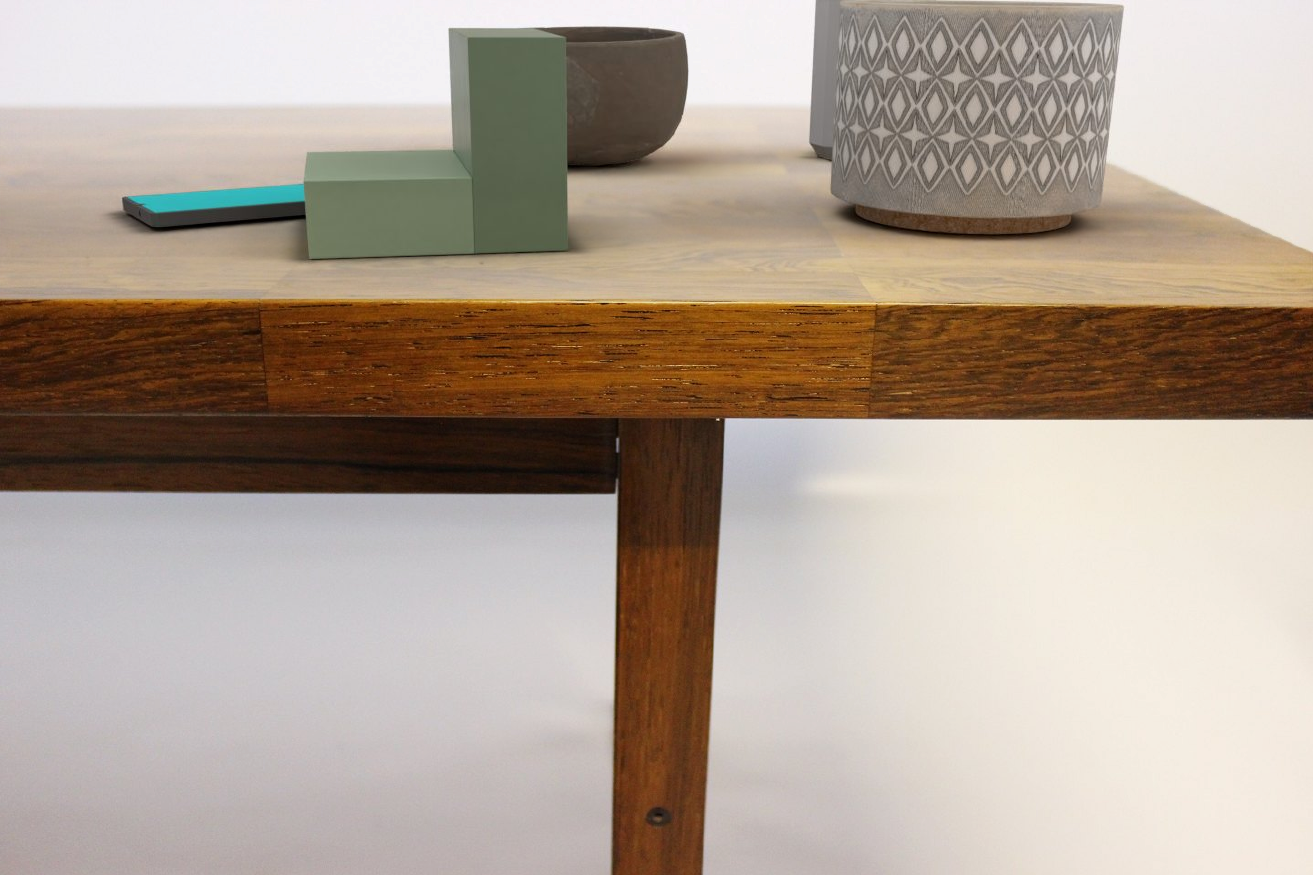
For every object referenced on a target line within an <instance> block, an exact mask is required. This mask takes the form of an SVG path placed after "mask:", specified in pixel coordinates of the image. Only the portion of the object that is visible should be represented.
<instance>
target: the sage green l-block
mask: <svg viewBox="0 0 1313 875" xmlns="http://www.w3.org/2000/svg"><path fill="white" fill-rule="evenodd" d="M533 28H534V27H448V30H447V31H448V56H449V80H450V81H449V82H450V107H451V108H450V109H451V110H450V111H451V134H452V135H451V136H452V138H451V139H452V149H417V150H416V149H415V150H413V149H412V150H409V149H408V150H406V149H405V150H354V151H353V150H350V151H347V150H346V151H344V150H343V151H307V152H306V158H305V165H304V166H305V167H304V174H303V181H302V182H303V183H302V184H304V197H305V210H306V215H305V222H306V224H305V225H306V236H307V238H306V239H307V249H308V259H309V260H323V259H324V260H325V259H351V258H353V259H354V258H358V259H359V258H381V257H382V258H383V257H385V258H386V257H414V256H444V255H445V256H446V255H447V256H449V255H475V254H476V255H477V254H505V253H532V252H533V253H535V252H537V253H538V252H539V253H541V252H566V251H568V250H569V218H568V217H569V211H568V210H569V209H568V208H569V207H568V206H569V205H568V204H569V202H568V201H569V199H568V198H569V197H568V165H567V99H566V37H563V36H559V35H555V34H552V33H548V32H544V31H541V30H537V29H533Z"/></svg>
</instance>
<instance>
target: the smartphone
mask: <svg viewBox="0 0 1313 875" xmlns="http://www.w3.org/2000/svg"><path fill="white" fill-rule="evenodd" d="M121 199H122V210H123V211H124V212H126V213H128V214H129V215H130V216H133V217H134V218H136V219H138V220H139V221H141V222H143V223H144V224H147V225H149V226H150V227H152V228H153V227H154V228H165V227H166V228H167V227H178V226H189V225H191V226H192V225H198V224H199V225H200V224H210V223H211V224H212V223H222V222H235V221H247V220H257V219H268V218H281V217H283V218H284V217H292V216H306V210H305V197H304V183H297V184H284V185H283V184H282V185H270V186H269V185H267V186H254V187H241V188H227V189H215V190H213V189H212V190H199V191H186V192H185V191H184V192H171V193H158V194H145V195H131V196H130V195H129V196H123V197H121Z"/></svg>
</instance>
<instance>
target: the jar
mask: <svg viewBox="0 0 1313 875" xmlns="http://www.w3.org/2000/svg"><path fill="white" fill-rule="evenodd" d="M841 1H846V0H815V5H814V7H815V8H814V28H813V29H814V31H813V49H812V50H813V51H812V52H813V53H812V71H811V72H812V73H811V94H810V96H811V97H810V114H809V135H808V137H809V139H808V143H809V145H810V146H811V148H812V149H813V151H814V152H815V153H816V155H817V157H819V158H823V159H827V160H831V161H832V147H833V128H834V109H835V90H836V71H837V51H838V32H839V13H840V2H841Z"/></svg>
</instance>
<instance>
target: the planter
mask: <svg viewBox="0 0 1313 875" xmlns="http://www.w3.org/2000/svg"><path fill="white" fill-rule="evenodd" d="M1124 10H1125V6H1124V5H1122V4H1115V3H1096V2H1095V3H1094V2H1093V3H1092V2H1065V1H1064V2H1062V1H1022V0H1021V1H1020V0H1015V1H1014V0H846V1H841V2H840V13H839V32H838V51H837V71H836V90H835V109H834V128H833V147H832V160H831V167H830V168H831V169H830V188H829V190H830V194H831V195H832V196H834V197H835V198H836V199H838V200H841V201H843V202H846V203H850V204H853V205H855V213H856V215H857V216H859V217H860V218H862V219H864V220H867V221H870V222H872V223H876V224H881V225H884V226H890V227H896V228H900V229H906V230H907V229H908V230H914V231H923V232H932V233H933V232H934V233H945V234H947V233H948V234H962V235H963V234H964V235H1019V234H1032V233H1041V232H1048V231H1053V230H1058V229H1060V228H1061V229H1062V228H1064V227H1067V226H1068V225H1069V224H1070V223H1071V220H1072V215H1074V214H1081V213H1085V212H1089V211H1092V210H1094V209H1096V208H1098V207H1100V205H1101V204H1102V198H1103V190H1104V182H1105V173H1106V164H1107V156H1108V148H1109V139H1110V130H1111V121H1112V114H1113V113H1112V112H1113V104H1114V95H1115V88H1116V81H1117V80H1116V78H1117V70H1118V62H1119V52H1120V45H1121V36H1122V28H1123V19H1124Z"/></svg>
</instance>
